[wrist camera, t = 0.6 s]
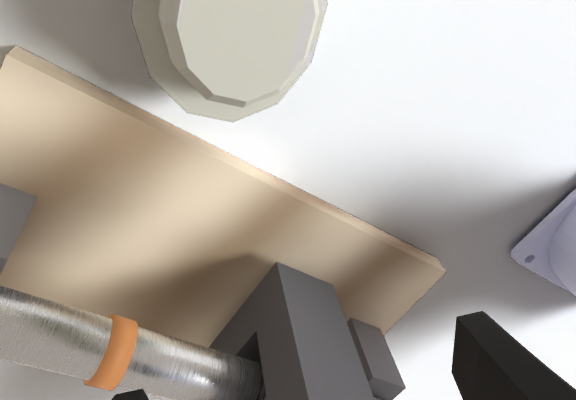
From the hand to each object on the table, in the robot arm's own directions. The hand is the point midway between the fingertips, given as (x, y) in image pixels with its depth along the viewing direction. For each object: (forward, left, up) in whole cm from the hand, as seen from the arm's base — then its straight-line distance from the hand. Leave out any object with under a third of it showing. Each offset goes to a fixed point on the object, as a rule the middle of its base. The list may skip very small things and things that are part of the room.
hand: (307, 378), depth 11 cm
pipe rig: (-1, +6, -10) cm, 12 cm away
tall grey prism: (-4, +6, -8) cm, 11 cm away
